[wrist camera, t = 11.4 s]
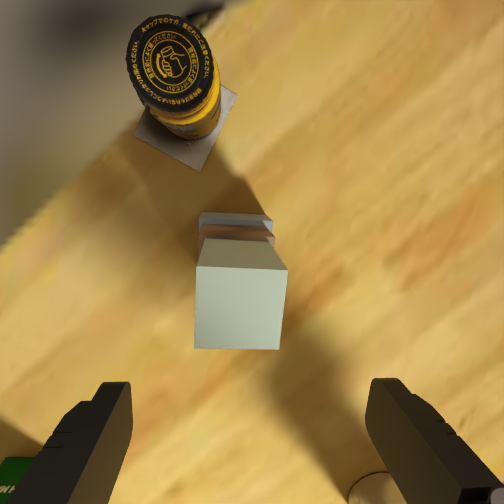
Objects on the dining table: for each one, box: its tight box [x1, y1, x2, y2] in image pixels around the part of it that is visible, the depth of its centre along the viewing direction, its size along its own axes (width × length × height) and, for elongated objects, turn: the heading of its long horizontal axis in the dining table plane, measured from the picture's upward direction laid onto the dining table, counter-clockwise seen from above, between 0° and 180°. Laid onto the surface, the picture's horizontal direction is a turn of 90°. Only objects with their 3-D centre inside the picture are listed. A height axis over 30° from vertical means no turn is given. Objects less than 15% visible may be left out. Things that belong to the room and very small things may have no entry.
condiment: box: [126, 14, 238, 172], centre depth 23 cm, size 7×8×12 cm
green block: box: [194, 238, 288, 350], centre depth 19 cm, size 5×5×7 cm
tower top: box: [198, 224, 275, 260], centre depth 25 cm, size 6×6×5 cm
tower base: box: [199, 212, 273, 233], centre depth 30 cm, size 7×7×5 cm
